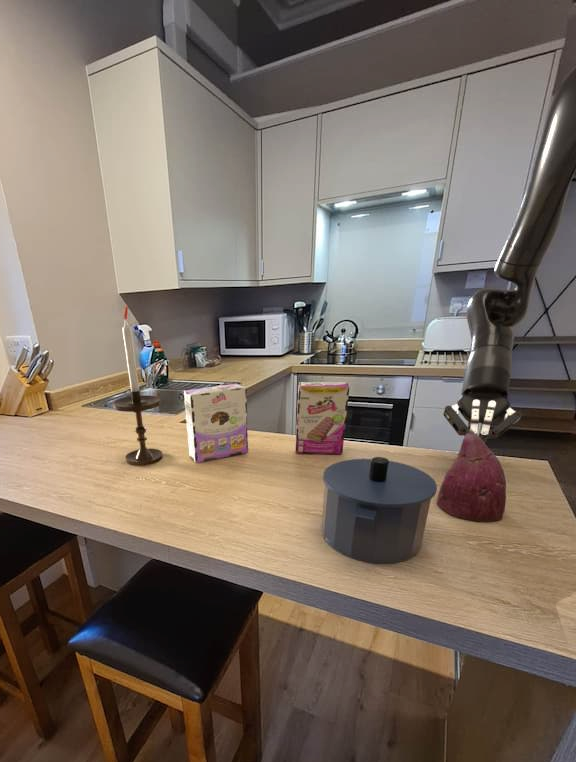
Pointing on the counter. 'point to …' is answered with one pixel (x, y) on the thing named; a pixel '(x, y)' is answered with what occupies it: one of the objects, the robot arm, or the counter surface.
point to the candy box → (216, 422)
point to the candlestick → (137, 405)
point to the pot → (373, 529)
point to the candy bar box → (321, 417)
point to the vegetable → (474, 483)
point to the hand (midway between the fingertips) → (474, 455)
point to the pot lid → (379, 482)
